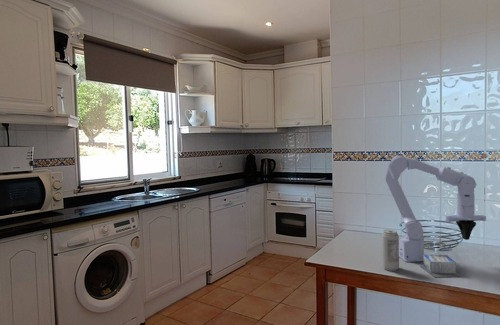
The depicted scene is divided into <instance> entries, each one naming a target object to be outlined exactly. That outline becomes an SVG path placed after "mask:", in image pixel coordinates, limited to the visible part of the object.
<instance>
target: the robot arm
mask: <svg viewBox="0 0 500 325" xmlns="http://www.w3.org/2000/svg"><path fill="white" fill-rule="evenodd" d="M406 169H407V170H416V169H417V170H418V171H421V172H425V173H427V174H430V175H433V176H435V178H436V179H437V181H440V182H443V183H445V184H447V185H451V186H452V187H453V186H454V187H457V193H456V197H457V198H456V205H457V206H456V210H457V212H456V215H447V216H445V222H448V223H452V222H454V223H455V224H456V225H457V226H458V228H459V231H460V233H461V237H462V239H464V240H465V241H467V240H470V238H471V234H472V233H473V230H474V228H475V227H476V226H477V222H478V221H479V222H480V221H482V222H486V221H487V216H486V215H484V214H480V215H479V214H475V188H476V187H477V183H476V180H475V179H474V177H472V176H470V175H468V174H466V173H464V172H463V171H456V170H455V169H454V170H453V169H451V166H446V167H445V166H441V167H439V168H438V167H436V166H433V165H430V164H428V163H425V162H423V161H420V160H418V159H416V158H412V157H407V156H405V157H404V156H402V155H395V156H393V157H392V158H391V160H390V161H389V163H388V167H387V171H386V175H385V182H386V184H387V187H388V190H389V191H390V193H391V195H392V197H393V199H394V202H395V204H396V207H397V208H398V211H399V213H400V215H401V218H402V219H403V222H404V225H405V232H406V234H405V235H404V237H399V259H401V260H403V261H404V262H406V263H407V262H408V263H409V262H411V263H412V262H424V255H425V237H424V229H423V228H422V226H423V225H422V224H421V222H420V221H419V220H418V219H417V218H416V216H415V214H414V212H413V209H412V208H411V206H410V205H411V204H409V201H408V199H407V197H406V195H405V193H404V190H403V188H402V186H401V183H400V182H399V178H400V176H401V174H402V173H403V172H404V171H405V170H406ZM476 221H477V222H476Z"/></svg>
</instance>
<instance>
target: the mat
mask: <svg viewBox="0 0 500 325" xmlns="http://www.w3.org/2000/svg"><path fill="white" fill-rule="evenodd" d="M419 267H420V268H422V269H423V270H424V271H425V272H427V274H429V275H431V276H432V277H433V278H434V279H435V278H460V277H461V276H460V275H459V274H457V273H456V272H455V273H431V272H430V271H429V270H428V269H427V267H426V266H425V265H424V264H423V265H420V264H419Z"/></svg>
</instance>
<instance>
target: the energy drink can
mask: <svg viewBox="0 0 500 325" xmlns="http://www.w3.org/2000/svg"><path fill="white" fill-rule="evenodd" d="M399 239H400V235H399V234H398V231H397V230H394V229H384V230H383V232H382V234H381V250H382V251H381V252H382V253H381V255H382V260H381V261H382V267H383V268H384V270H386V271H390V272H396V271H398V269H399V268H400V257H399Z"/></svg>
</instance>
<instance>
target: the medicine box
mask: <svg viewBox="0 0 500 325" xmlns="http://www.w3.org/2000/svg"><path fill="white" fill-rule="evenodd" d="M423 265H425V266H426V267H427V269H428V270H429V271H430V272H431V273H456V261H454V260H453V259H452V258H451V257H450V256H448V255H447V254H424V261H423Z"/></svg>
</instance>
